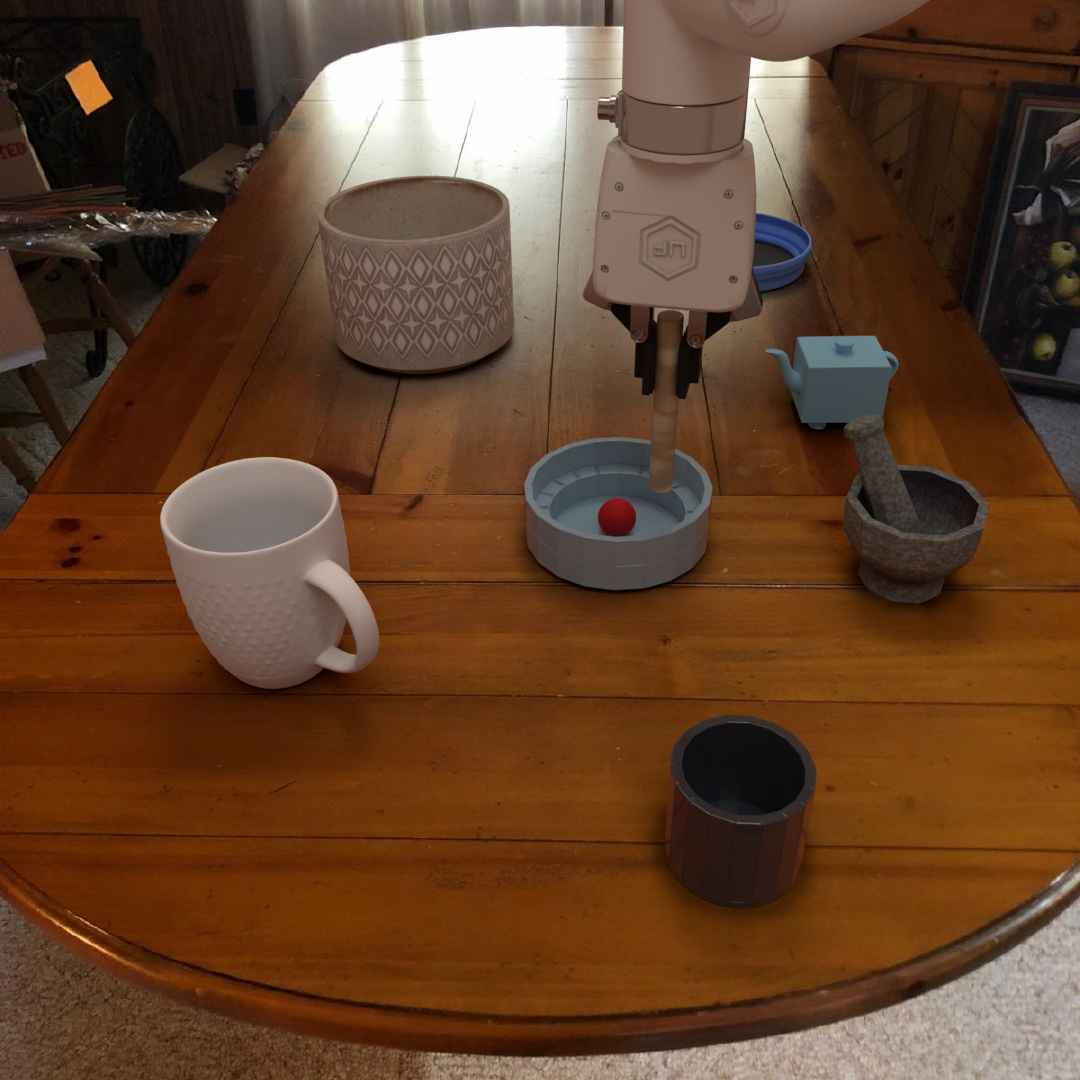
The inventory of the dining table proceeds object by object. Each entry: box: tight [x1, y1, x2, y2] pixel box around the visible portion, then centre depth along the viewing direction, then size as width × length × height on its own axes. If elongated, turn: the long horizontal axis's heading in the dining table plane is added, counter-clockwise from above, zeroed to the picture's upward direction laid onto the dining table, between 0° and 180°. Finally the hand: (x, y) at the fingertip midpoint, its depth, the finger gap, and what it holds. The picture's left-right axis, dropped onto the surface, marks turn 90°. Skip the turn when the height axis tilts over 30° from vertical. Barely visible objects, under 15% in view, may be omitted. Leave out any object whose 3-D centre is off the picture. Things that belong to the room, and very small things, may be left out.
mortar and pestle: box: [843, 414, 991, 604], centre depth 79 cm, size 11×9×12 cm
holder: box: [664, 714, 818, 909], centre depth 60 cm, size 8×8×7 cm
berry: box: [598, 498, 636, 537], centre depth 85 cm, size 3×3×3 cm
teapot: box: [764, 335, 899, 430], centre depth 99 cm, size 12×6×8 cm, turn 89°
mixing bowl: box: [523, 436, 714, 591], centre depth 85 cm, size 14×14×5 cm
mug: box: [159, 456, 380, 690], centre depth 71 cm, size 15×11×13 cm
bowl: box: [753, 212, 812, 293], centre depth 128 cm, size 18×18×4 cm
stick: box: [649, 309, 685, 493], centre depth 79 cm, size 2×2×14 cm
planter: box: [316, 175, 515, 375], centre depth 111 cm, size 19×19×14 cm
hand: (666, 386), depth 78 cm, fingers closed on stick, 1 cm apart
